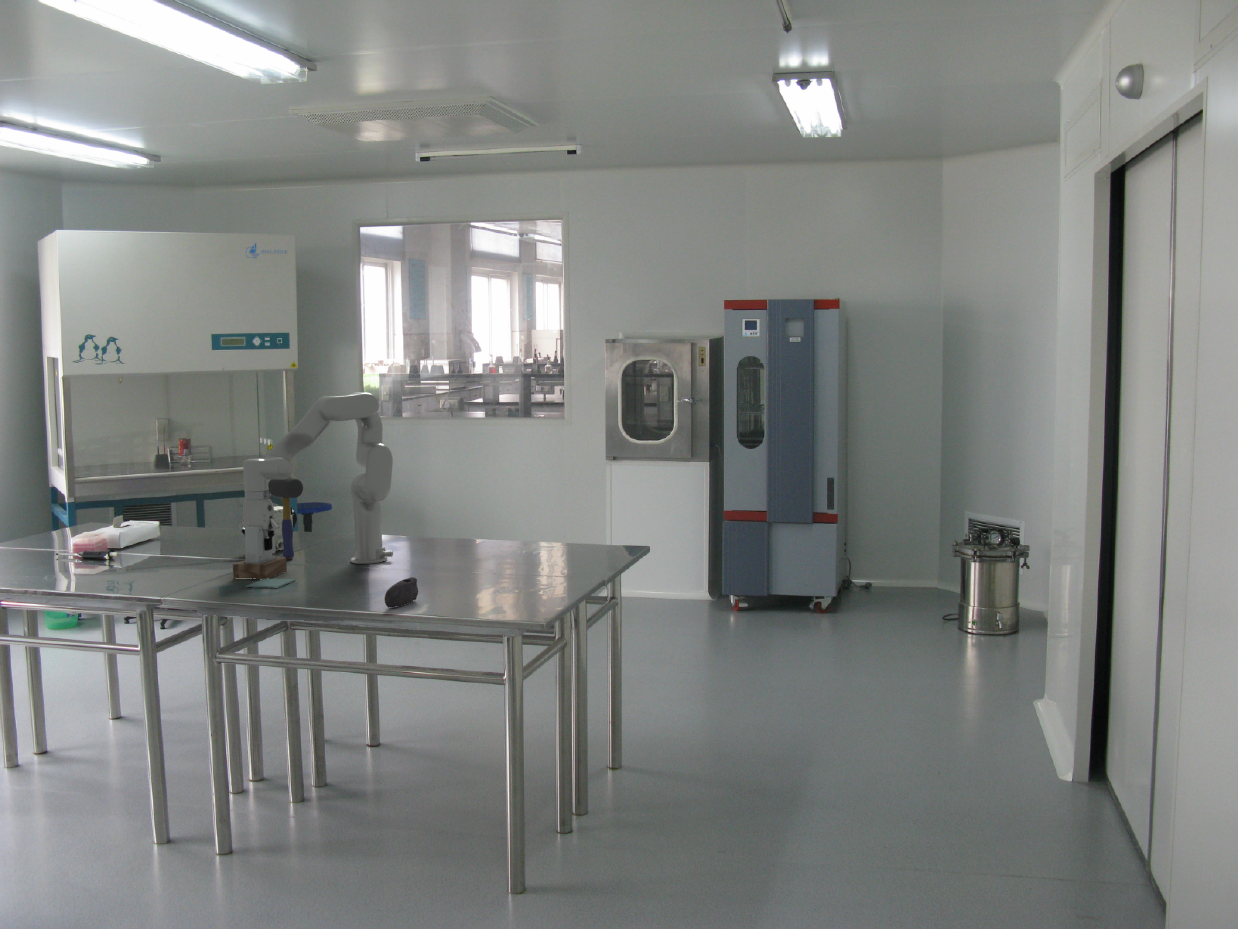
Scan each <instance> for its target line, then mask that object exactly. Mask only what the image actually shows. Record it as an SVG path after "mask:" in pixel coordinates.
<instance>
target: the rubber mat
mask: <svg viewBox="0 0 1238 929" xmlns="http://www.w3.org/2000/svg"><path fill="white" fill-rule="evenodd" d="M293 581H295V582H296V579H293V578H291V579H290V578H289V579H288V578H270V579H262V580H256V581H254V582H252V583H250V584H247V585H245V588H246V587H280V586H282V585H285V584H287V583H289V582H292V583H294V582H293ZM285 586H286V585H285Z"/></svg>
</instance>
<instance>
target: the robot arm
mask: <svg viewBox="0 0 1238 929" xmlns="http://www.w3.org/2000/svg"><path fill="white" fill-rule="evenodd" d="M379 408H380V403H379V399H378V398H377V397H376V396H375V395H374V394H373V393H370V392H360V391H359V392H358V391H357V392H351V393H349V394H348V395H340V396H337V395H335V396H334V395H332V396H330V395H326V396H325V395H324V396H321V397H320V398H318V399H317V400H316V401H315V402H314V403H313V405H311V406H310V408H309V409H308V411H307V412H306V413H305V415H303V417H302V418H301V419H300V420H299V422H298V423H297V424H296V425H295V427H293V428H292V429H291V430H290V431H289V432H287V433H286V434H285V435H284V436H283V437H282V438H281V439H279V440H278V442H276V444H275V445H274V446H273V447H272V449H271V450H270V451H269V452H268V453H267V454H266V456H265V457H264V458H248V459H245V460H244V461H243V462H242V463H243V464H242V465H243V466H242V469H243V483H244V484H243V485H244V486H243V487H244V500H243V505H242V521H240V523H239V524H238V526H237V528H238V529H239V530H240V531H241V533H242V534H243V535H244V536H245V527H246V526H255V527H262V530H263V531H264V535H265V537H266V539H264V546H265V551H268V550H271V549H272V537H274V535H275V533H276V532H277V531H278V529H279V528H280V527H279V526H278V525H277V523H276V522H275V513H274V507H275V506H274V503H273V501H272V499H270V498H271V497H272V495H271V493H269V487H268V483H269V480H271V479H278V480H282V479H286V478H288V477H289V478H291V476H292V474H293V473H294V469H295V467H294V464H293V463H292V460H293V458H294V457H296V455H297V454H299V453H300V452H301V451H304V450H305V449H307V448H309V447H311V446H313V445H315V444H316V443H317V441H318V440H319V439H320V437H322V436H323V434H324V433H325V432H326V430H327V429H329V426H330V425H331V424H332V423H333V422H344V421H345V422H346V421H352V420H355V422H356V426H357V441H356V443H357V444H356V452H355V461H356V463H357V465H358V466H359V467H361V468H364V469H365V472H360V473H358V474H356V475H354V477H353V478H352V479H351V482H350V490H349V491H350V495H351V501H352V508H353V509H352V510H353V533H354V556H353V557H351V558H350V562H351V563H352V564H357V565H358V564H359V565H360V564H361V565H370V564H377V563H382V562H383V561H384V562H386V561H387V560H388V557H389V558H390V557H391V558H392V557H393V556H394V552H393V550H386V547H384V546H383V532H382V530H383V528H382V525H383V524H382V507H381V501H384V500H385V499H386V498H387V497H388V496H389V494H390V491H391V487H392V478H393V475H392V474H393V473H392V472H393V463H394V462H393V461H394V460H393V453H392V451H391V450H390V448H389V447H388V446H387V445H386V444H383V429H384V428H383V422H382V421H383V420H382V419H381V416H380V414H379V412H378V410H379ZM268 527H269V528H268ZM271 527H272V528H271ZM271 529H272V530H271ZM267 531H268V532H267ZM268 533H269V534H268ZM384 562H383V563H384Z"/></svg>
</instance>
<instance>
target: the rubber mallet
mask: <svg viewBox="0 0 1238 929" xmlns="http://www.w3.org/2000/svg"><path fill="white" fill-rule="evenodd" d="M268 487H269V493H271V496H274V497H277V498H282V499H281V500H282V506H283V521H282V534H281V536H282V537H281V538H283V551H282V557H286V561H289V559H291V560H293V558H294V557H295V552H294V544H293V543H294V540H293V537H294V528H293V527H292V521H291V515H290V507H291V502H290V501H291V499H294V498H298V497H300V496H301V495H302V494H303V491H304V486H303V483H302V481H301V480H300V479H298V478H294V477H288V478H286V479H282V480H278V479H269V480H268Z"/></svg>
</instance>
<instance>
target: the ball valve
mask: <svg viewBox="0 0 1238 929" xmlns="http://www.w3.org/2000/svg"><path fill="white" fill-rule="evenodd" d="M273 507H274V513H275V522H276V523H277V525H278V526H279V527H280V528H279V529H278V531H277V532H276V533H275V552H279V551H278V550H280V551H282V550H283V537H281V536H282V521H283V505H278V506H273ZM290 515H291V521H292V527H293V529H294V528H295V527H296V525H297V522H298V517H297V514H296V512H295V510H293V506H290ZM277 536H278V537H277Z"/></svg>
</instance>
